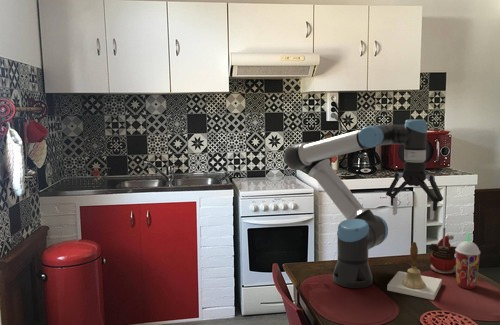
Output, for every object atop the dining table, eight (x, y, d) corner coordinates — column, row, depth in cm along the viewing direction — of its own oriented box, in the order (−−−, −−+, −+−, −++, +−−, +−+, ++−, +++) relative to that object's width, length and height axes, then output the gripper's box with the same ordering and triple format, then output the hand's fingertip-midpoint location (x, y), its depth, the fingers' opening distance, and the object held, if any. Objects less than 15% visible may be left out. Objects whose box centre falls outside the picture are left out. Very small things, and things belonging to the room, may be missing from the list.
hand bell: (407, 289, 151) (408, 246, 149) (397, 280, 159) (399, 239, 157) (430, 288, 151) (431, 245, 150) (419, 279, 160) (420, 238, 158)
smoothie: (482, 291, 153) (484, 237, 151) (457, 289, 155) (459, 236, 152) (474, 282, 161) (477, 231, 159) (451, 280, 163) (453, 230, 160)
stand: (387, 290, 155) (387, 285, 155) (398, 275, 169) (398, 271, 168) (433, 300, 147) (433, 294, 146) (441, 284, 160) (441, 279, 160)
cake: (427, 272, 172) (428, 229, 170) (430, 264, 180) (432, 223, 178) (455, 276, 167) (457, 232, 164) (458, 269, 174) (460, 227, 172)
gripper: (378, 160, 161) (377, 214, 164) (448, 164, 146) (446, 223, 149) (385, 158, 167) (383, 210, 170) (453, 162, 152) (450, 219, 155)
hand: (412, 216), depth 159 cm, fingers open, 13 cm apart
